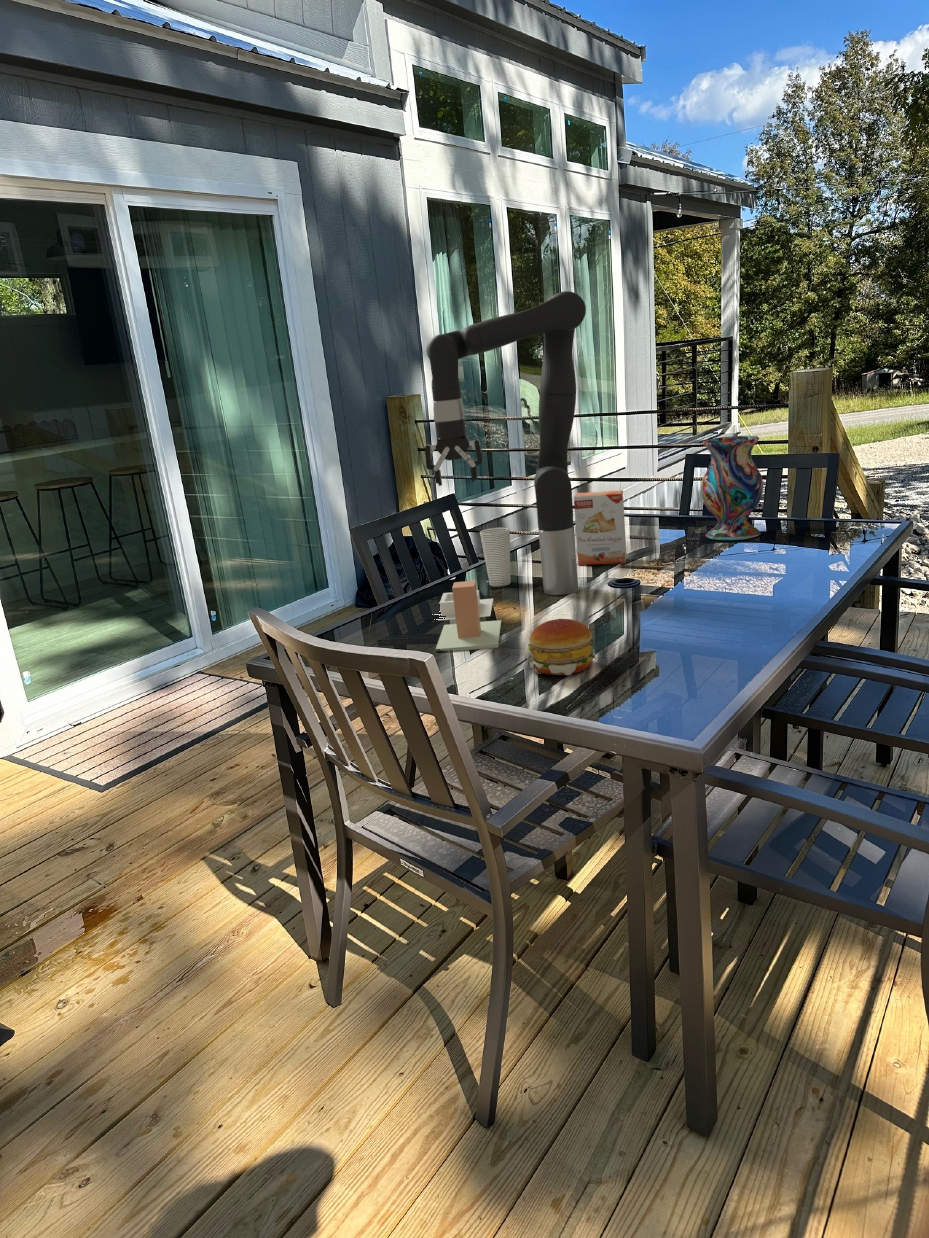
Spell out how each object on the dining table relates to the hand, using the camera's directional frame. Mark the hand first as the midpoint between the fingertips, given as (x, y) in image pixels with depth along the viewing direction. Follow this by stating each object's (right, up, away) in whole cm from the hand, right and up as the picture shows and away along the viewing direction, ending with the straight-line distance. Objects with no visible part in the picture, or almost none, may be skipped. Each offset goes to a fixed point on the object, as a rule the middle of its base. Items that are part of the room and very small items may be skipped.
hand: (456, 483), depth 218 cm
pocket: (+1, -32, +4) cm, 33 cm away
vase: (+86, -8, +52) cm, 101 cm away
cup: (+12, -25, +26) cm, 38 cm away
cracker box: (+43, -18, +37) cm, 60 cm away
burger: (+22, -45, -44) cm, 66 cm away
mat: (+3, -39, -18) cm, 43 cm away
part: (+3, -38, -18) cm, 42 cm away
